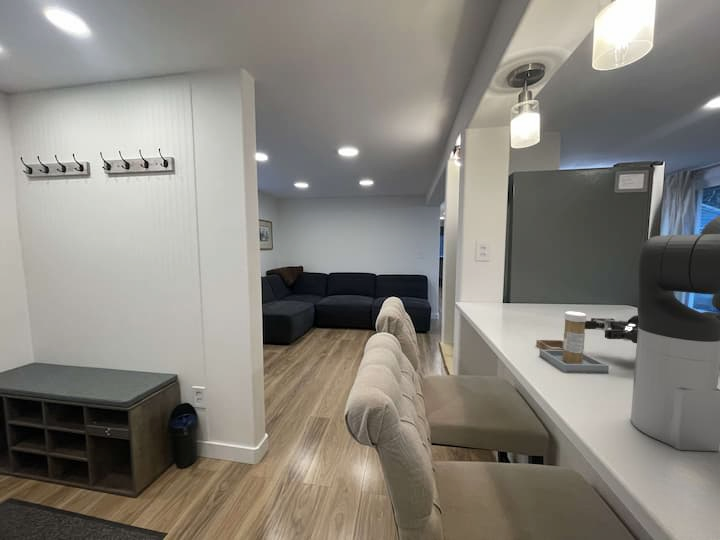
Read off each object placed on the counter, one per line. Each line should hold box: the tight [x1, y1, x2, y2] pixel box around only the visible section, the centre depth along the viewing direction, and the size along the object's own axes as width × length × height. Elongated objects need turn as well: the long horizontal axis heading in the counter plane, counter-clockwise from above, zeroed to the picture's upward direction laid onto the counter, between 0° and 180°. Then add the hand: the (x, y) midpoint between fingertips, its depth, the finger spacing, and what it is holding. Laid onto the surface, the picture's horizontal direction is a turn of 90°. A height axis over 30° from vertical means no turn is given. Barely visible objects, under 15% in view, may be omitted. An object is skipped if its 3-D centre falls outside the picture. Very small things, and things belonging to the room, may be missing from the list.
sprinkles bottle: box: [562, 310, 587, 364], centre depth 75 cm, size 5×5×13 cm
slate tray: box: [539, 349, 610, 374], centre depth 76 cm, size 11×11×2 cm
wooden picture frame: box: [535, 339, 564, 350], centre depth 85 cm, size 8×8×2 cm
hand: (592, 329), depth 75 cm, fingers open, 8 cm apart
